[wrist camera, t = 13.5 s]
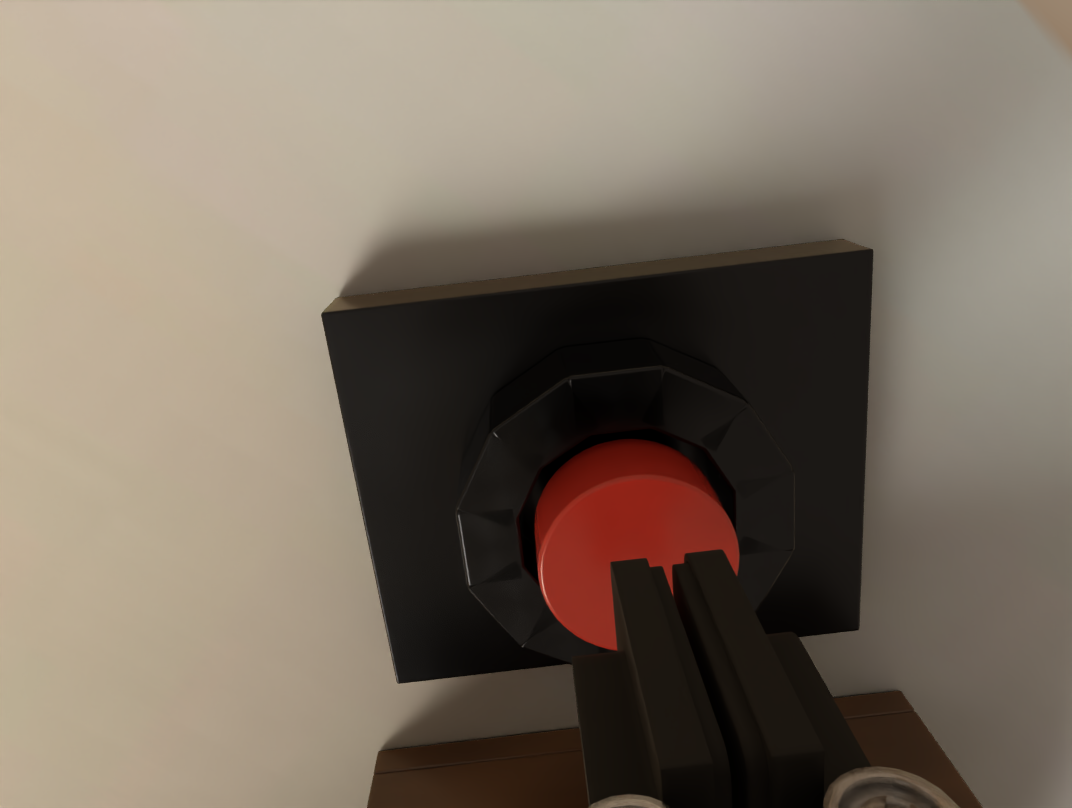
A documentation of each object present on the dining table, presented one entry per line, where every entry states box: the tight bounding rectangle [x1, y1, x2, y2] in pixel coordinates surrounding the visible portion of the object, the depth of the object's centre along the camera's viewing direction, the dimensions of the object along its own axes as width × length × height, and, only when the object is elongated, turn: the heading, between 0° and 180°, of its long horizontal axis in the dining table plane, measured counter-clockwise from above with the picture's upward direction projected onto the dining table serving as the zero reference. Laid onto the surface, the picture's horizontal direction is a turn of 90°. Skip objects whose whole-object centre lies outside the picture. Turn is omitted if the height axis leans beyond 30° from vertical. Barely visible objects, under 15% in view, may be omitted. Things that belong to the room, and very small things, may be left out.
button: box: [534, 439, 740, 651], centre depth 15 cm, size 4×4×2 cm
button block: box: [321, 239, 873, 684], centre depth 17 cm, size 11×9×4 cm
